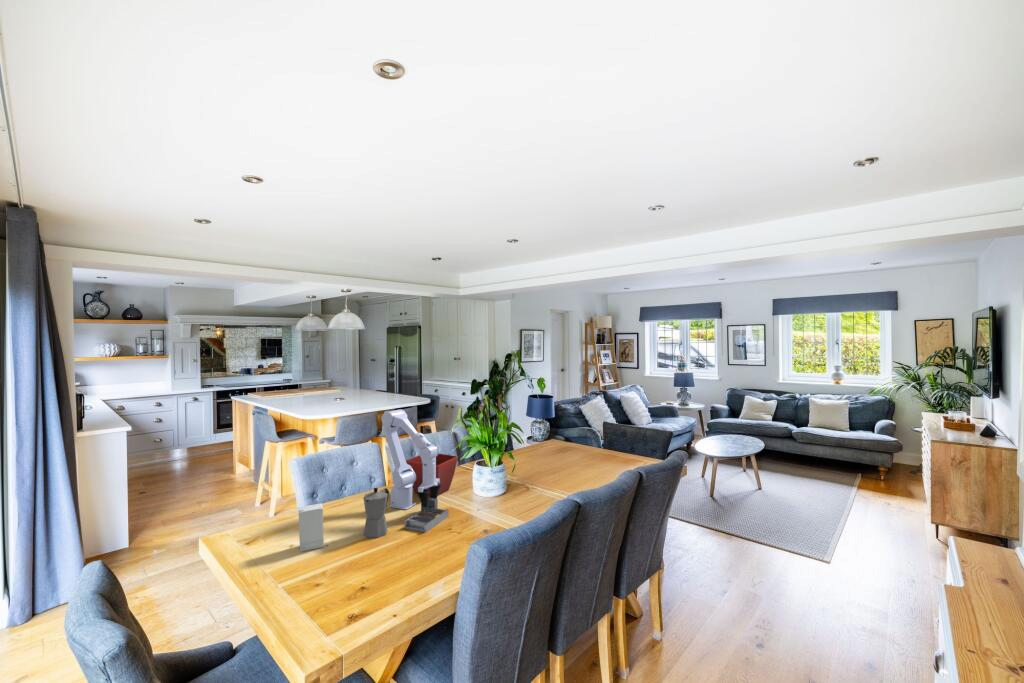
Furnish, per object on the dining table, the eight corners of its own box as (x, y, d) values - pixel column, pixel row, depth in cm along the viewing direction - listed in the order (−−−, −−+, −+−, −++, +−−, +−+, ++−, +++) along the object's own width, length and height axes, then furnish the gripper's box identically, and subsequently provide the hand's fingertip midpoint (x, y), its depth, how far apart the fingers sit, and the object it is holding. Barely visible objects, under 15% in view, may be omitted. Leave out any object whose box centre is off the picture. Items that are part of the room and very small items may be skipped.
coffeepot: (376, 541, 175) (376, 494, 174) (355, 538, 177) (355, 491, 177) (398, 526, 189) (398, 482, 189) (378, 523, 192) (378, 480, 192)
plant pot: (436, 500, 219) (437, 465, 219) (404, 494, 227) (404, 460, 227) (458, 488, 236) (458, 456, 236) (427, 483, 245) (427, 451, 244)
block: (420, 512, 205) (421, 498, 205) (423, 510, 207) (423, 496, 207) (434, 514, 202) (434, 500, 202) (437, 512, 205) (437, 498, 205)
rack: (404, 528, 187) (404, 519, 187) (428, 513, 203) (428, 504, 203) (425, 532, 183) (425, 523, 183) (448, 516, 200) (448, 507, 200)
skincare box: (322, 541, 175) (322, 502, 175) (323, 548, 169) (324, 507, 169) (298, 545, 171) (298, 505, 171) (298, 552, 166) (298, 511, 165)
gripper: (428, 478, 196) (428, 510, 196) (445, 469, 210) (445, 499, 210) (414, 476, 199) (414, 508, 199) (432, 468, 212) (432, 497, 212)
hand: (429, 503), depth 204 cm, fingers open, 7 cm apart
